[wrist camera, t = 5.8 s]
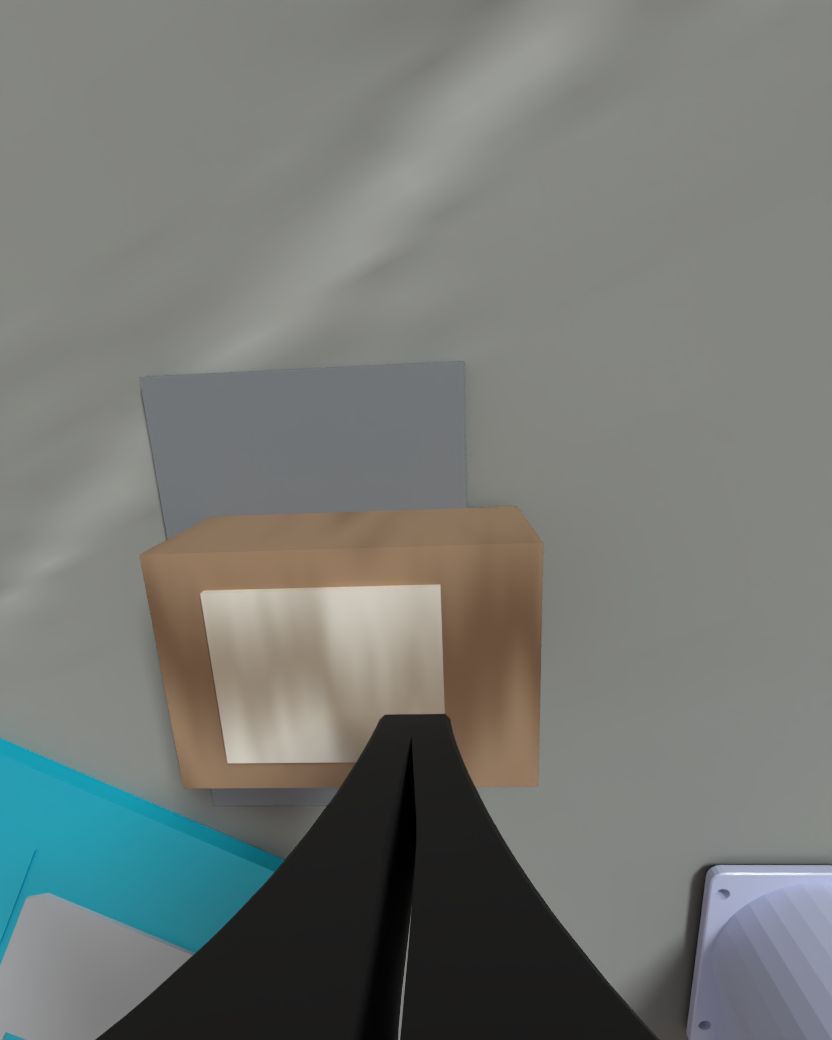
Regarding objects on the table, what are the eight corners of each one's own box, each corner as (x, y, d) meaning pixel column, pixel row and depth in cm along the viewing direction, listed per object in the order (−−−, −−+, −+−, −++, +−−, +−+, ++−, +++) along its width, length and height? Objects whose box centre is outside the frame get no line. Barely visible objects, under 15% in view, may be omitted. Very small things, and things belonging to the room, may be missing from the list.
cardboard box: (539, 792, 13) (180, 793, 14) (515, 699, 17) (238, 703, 18) (545, 545, 12) (134, 557, 12) (516, 506, 16) (210, 516, 16)
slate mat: (471, 796, 19) (472, 804, 19) (218, 797, 19) (213, 805, 19) (463, 361, 15) (464, 360, 15) (146, 377, 16) (139, 376, 15)
